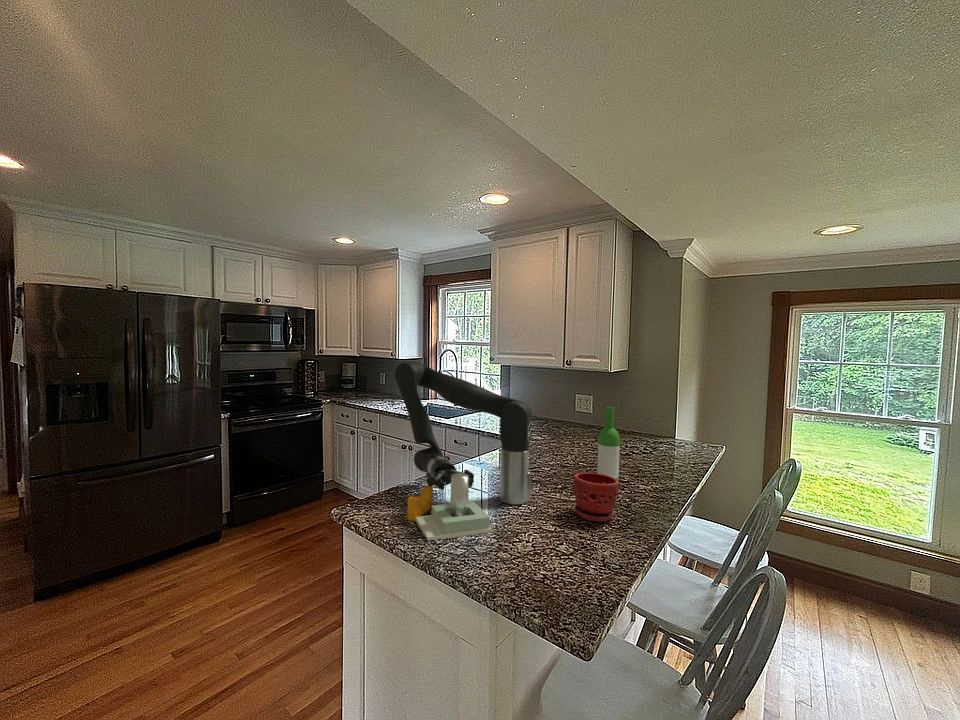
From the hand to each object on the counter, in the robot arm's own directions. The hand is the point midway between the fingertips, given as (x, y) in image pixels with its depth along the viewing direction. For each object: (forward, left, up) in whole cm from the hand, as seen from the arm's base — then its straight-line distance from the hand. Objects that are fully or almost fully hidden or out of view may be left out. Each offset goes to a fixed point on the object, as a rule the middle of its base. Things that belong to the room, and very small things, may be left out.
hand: (457, 485), depth 118 cm
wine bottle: (-67, -16, -11) cm, 70 cm away
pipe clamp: (+9, -10, -11) cm, 17 cm away
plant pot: (-42, +9, -11) cm, 44 cm away
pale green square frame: (+2, +3, -10) cm, 11 cm away
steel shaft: (0, +3, -9) cm, 10 cm away
